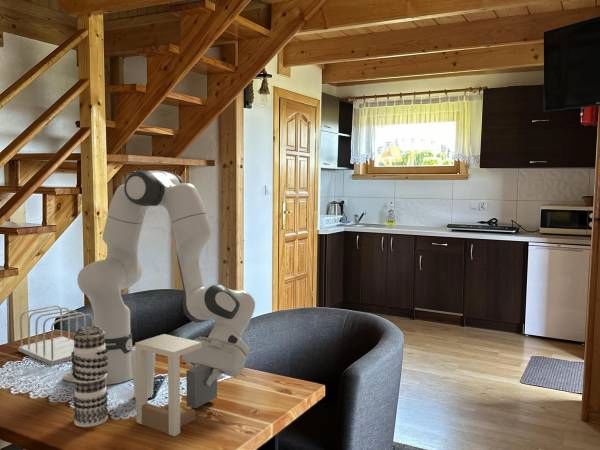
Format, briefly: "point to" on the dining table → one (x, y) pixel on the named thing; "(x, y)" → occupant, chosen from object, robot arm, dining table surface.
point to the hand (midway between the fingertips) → (200, 383)
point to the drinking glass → (149, 371)
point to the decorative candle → (89, 376)
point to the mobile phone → (223, 377)
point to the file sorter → (54, 347)
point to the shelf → (170, 414)
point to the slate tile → (200, 386)
